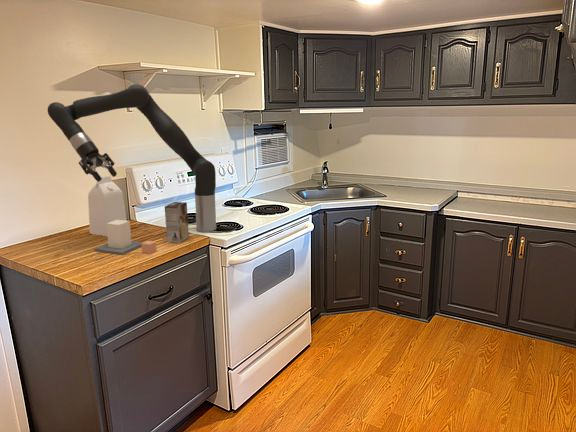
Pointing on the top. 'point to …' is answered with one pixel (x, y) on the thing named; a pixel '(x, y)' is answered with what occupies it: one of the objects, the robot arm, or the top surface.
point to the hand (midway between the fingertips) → (107, 178)
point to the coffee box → (176, 222)
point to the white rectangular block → (119, 234)
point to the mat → (119, 251)
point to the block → (148, 247)
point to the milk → (105, 205)
